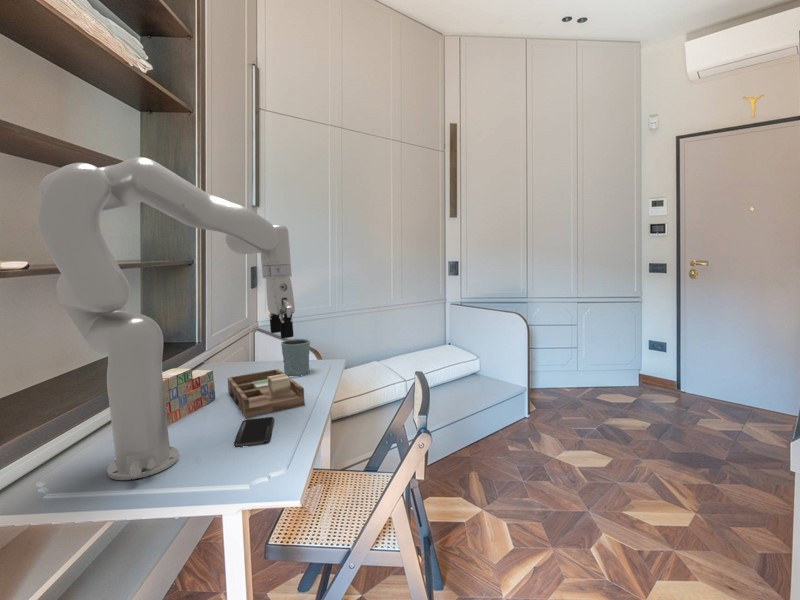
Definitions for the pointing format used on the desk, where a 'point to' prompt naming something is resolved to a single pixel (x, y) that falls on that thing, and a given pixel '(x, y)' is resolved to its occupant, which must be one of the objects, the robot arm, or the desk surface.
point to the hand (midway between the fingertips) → (281, 334)
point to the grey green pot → (296, 356)
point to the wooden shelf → (262, 394)
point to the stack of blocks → (186, 391)
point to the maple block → (279, 385)
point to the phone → (254, 432)
